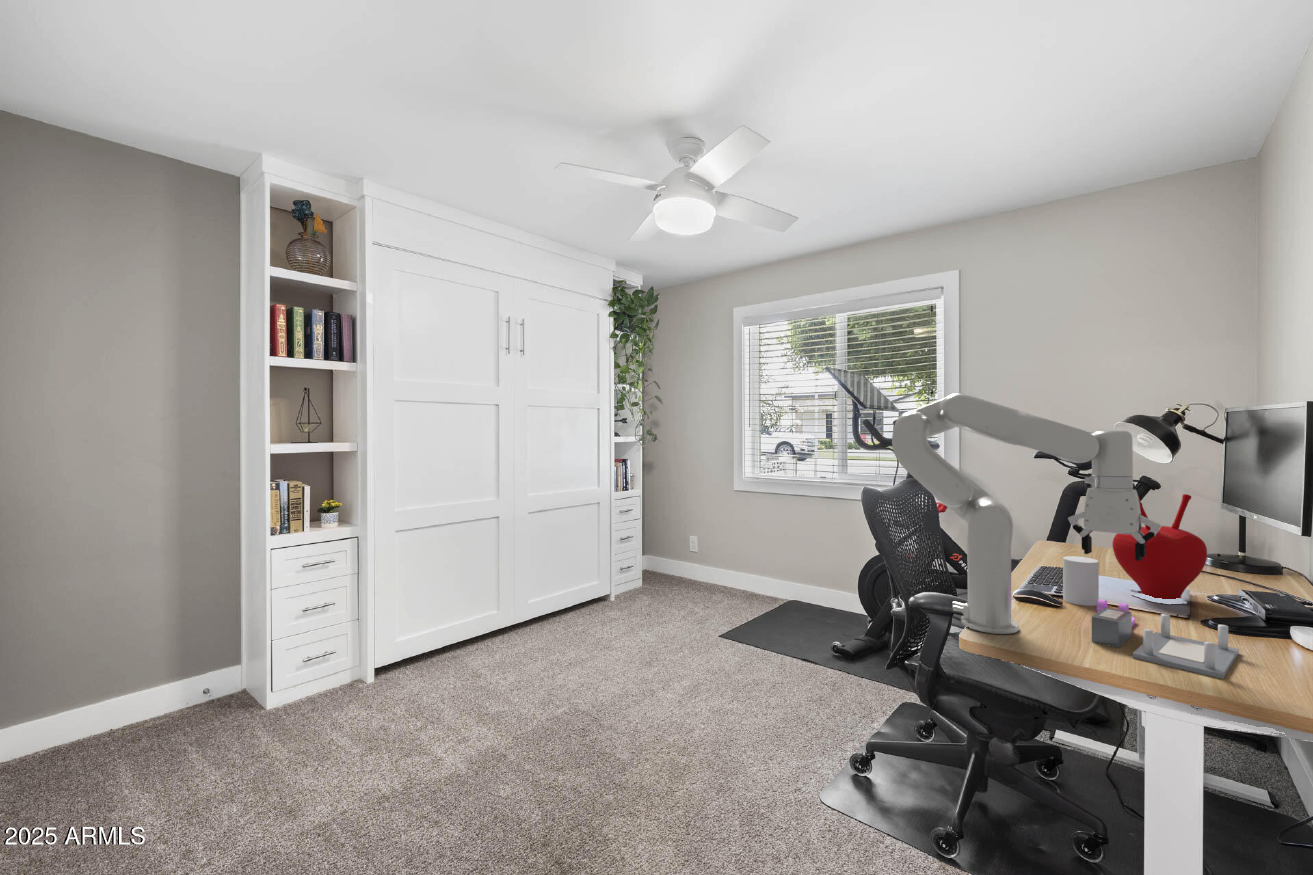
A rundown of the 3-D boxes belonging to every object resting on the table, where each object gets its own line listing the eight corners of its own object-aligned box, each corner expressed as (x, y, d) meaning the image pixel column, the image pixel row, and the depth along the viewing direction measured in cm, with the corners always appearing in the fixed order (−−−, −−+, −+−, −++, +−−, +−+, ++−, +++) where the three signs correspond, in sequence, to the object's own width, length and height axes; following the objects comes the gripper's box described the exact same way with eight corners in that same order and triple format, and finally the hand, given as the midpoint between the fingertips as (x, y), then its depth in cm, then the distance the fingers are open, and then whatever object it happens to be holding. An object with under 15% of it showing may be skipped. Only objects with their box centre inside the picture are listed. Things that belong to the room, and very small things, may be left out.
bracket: (1125, 634, 139) (1125, 605, 139) (1096, 628, 143) (1096, 600, 143) (1137, 622, 147) (1137, 594, 147) (1109, 616, 152) (1109, 590, 151)
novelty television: (1173, 591, 173) (1173, 491, 172) (1218, 605, 160) (1218, 496, 159) (1107, 594, 171) (1107, 492, 171) (1147, 607, 158) (1147, 498, 158)
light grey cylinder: (1105, 605, 160) (1105, 562, 160) (1076, 605, 161) (1076, 562, 160) (1084, 597, 169) (1084, 556, 168) (1056, 597, 169) (1056, 556, 169)
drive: (1091, 642, 134) (1091, 616, 134) (1105, 631, 141) (1105, 606, 141) (1118, 648, 130) (1118, 621, 130) (1131, 637, 137) (1131, 611, 137)
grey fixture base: (1132, 657, 125) (1132, 629, 125) (1155, 635, 137) (1155, 610, 137) (1222, 679, 114) (1222, 648, 114) (1238, 653, 126) (1238, 626, 126)
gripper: (1063, 482, 139) (1063, 553, 140) (1156, 486, 126) (1157, 565, 126) (1073, 480, 144) (1074, 548, 144) (1164, 484, 131) (1165, 560, 131)
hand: (1112, 556), depth 135 cm, fingers open, 9 cm apart
